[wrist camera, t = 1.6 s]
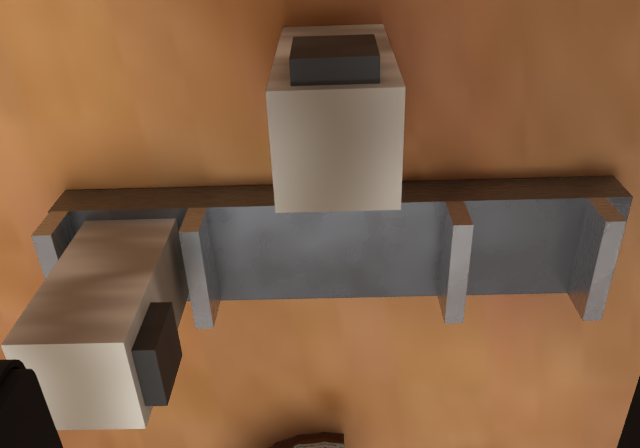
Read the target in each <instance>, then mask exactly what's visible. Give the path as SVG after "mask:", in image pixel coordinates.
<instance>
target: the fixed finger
mask: <svg viewBox="0 0 640 448" xmlns="http://www.w3.org/2000/svg"><path fill="white" fill-rule="evenodd" d="M188 295H189V289H188V283H187V277H186V272H185V266H184V260H183V255H182V249H181V243H180V238H179V232H178V226H177V220H176V218H175V219H135V220H95V221H85V222H84V223H83V225H82V226H81V227H80V229H79V230H78V232H77V233H76V235H75V236H74V238H73V239H72V241H71V242H70V244H69V245H68V247H67V248H66V250H65V251H64V253H63V254H62V256H61V257H60V259H59V260H58V261H57V263H56V264H55V266H54V267H53V269H52V270H51V272H50V273H49V275H48V276H47V278H46V279H45V281H44V282H43V284H42V285H41V287H40V288H39V290H38V291H37V293H36V294H35V295H34V297H33V298H32V300H31V301H30V303H29V304H28V306H27V307H26V309H25V310H24V312H23V313H22V315H21V316H20V318H19V319H18V321H17V322H16V324H15V325H14V327H13V328H12V329H11V331H10V332H9V334H8V335H7V337H6V338H5V340H4V341H3V343H2V344H1V347H2V349H3V352H4V354H5V357H6V360H12V359H16V360H20V361H21V362H23V364H24V366H25V367H26V369H32V370H33V371H34V372H35V374H36V376H37V379H38V381H39V384H40V387H41V389H42V392H43V395H44V397H45V400H46V403H47V406H48V408H49V411H50V414H51V416H52V419H53V422H54V424H55V427H56V430H96V429H146V426H147V423H148V420H149V417H150V414H151V410H152V407H153V406H167V405H168V402H169V399H170V395H171V392H172V388H173V385H174V382H175V378H176V375H177V371H178V368H179V365H180V361H181V358H182V351H181V346H180V341H179V335H178V330H177V329H178V326H179V323H180V320H181V317H182V314H183V310H184V307H185V304H186V301H187V298H188Z"/></svg>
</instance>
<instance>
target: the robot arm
mask: <svg viewBox="0 0 640 448" xmlns="http://www.w3.org/2000/svg"><path fill="white" fill-rule="evenodd" d="M0 448H63V446H62V443H61V441H60V438H59V435H58V433H57V430H56V427H55V424H54V422H53V419H52V416H51V414H50V411H49V408H48V406H47V403H46V400H45V397H44V395H43V392H42V389H41V387H40V384H39V381H38V379H37V376H36V374H35V372H34V371H33V370H32V369H26V367H25V366H24V364H23V362H21V361H20V360H16V359H12V360H0ZM617 448H640V377H639V380H638V383H637V386H636V390H635V393H634V396H633V399H632V402H631V405H630V408H629V412H628V415H627V418H626V421H625V424H624V427H623V430H622V434H621V437H620V440H619V443H618V446H617Z"/></svg>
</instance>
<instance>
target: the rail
mask: <svg viewBox="0 0 640 448" xmlns="http://www.w3.org/2000/svg"><path fill="white" fill-rule="evenodd" d="M632 198H633V196H632V195H631V194H630V193H629V192H628V191H627V190H626V189H625V188H624V187H623V186H622V185H621V183H620V182H619V181H618V180H617V179H616V178H615V177H614V176H594V177H556V178H518V179H479V180H441V181H403V182H402V195H401V210H374V211H334V212H294V213H275V202H274V189H273V185H250V186H212V187H174V188H136V189H98V190H65V191H64V192H63V194H62V195H61V196H60V197H59V199H58V200H57V201H56V202H55V204H54V205H53V206H52V207H51V209H50V210H49V211H48V213H49V214H48V215H47V216H46V218H45V219H44V220H43V221H42V223H41V224H40V225H39V227H38V228H37V229H36V230H35V232H34V233H33V234H32V235H31V237H32V240H33V243H34V246H35V249H36V252H37V256H38V259H39V262H40V265H41V268H42V271H43V274H44V277H45V279H46V278H47V276H48V275H49V273H50V272H51V270H52V269H53V267H54V266H55V264H56V263H57V261H58V260H59V259H60V257H61V256H62V254H63V253H64V251H65V250H66V248H67V247H68V245H69V244H70V242H71V241H72V239H73V238H74V236H75V235H76V233H77V232H78V230H79V229H80V227H81V226H82V225H83V223H84V222H85V221H95V220H135V219H175V218H176V220H177V226H178V232H179V238H180V243H181V249H182V255H183V260H184V266H185V272H186V277H187V283H188V289H189V295H188V298H187V301H191V305H192V311H193V317H194V322H195V328H196V329H197V328H214V324H215V320H216V316H217V312H218V308H219V304H220V300H261V299H308V298H354V297H401V296H438V299H439V303H440V307H441V311H442V315H443V319H444V323H463V318H464V309H465V300H466V295H493V294H540V293H567V294H568V295H569V297H570V299H571V301H572V302H573V304H574V306H575V308H576V310H577V311H578V313H579V315H580V317H581V318H582V320H583V321H588V320H601V319H602V315H603V311H604V307H605V304H606V300H607V296H608V292H609V288H610V284H611V280H612V276H613V272H614V268H615V265H616V261H617V257H618V253H619V249H620V245H621V241H622V237H623V233H624V229H625V225H626V222H627V218H628V214H629V210H630V206H631V202H632Z"/></svg>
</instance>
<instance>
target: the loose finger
mask: <svg viewBox="0 0 640 448" xmlns="http://www.w3.org/2000/svg"><path fill="white" fill-rule="evenodd" d="M405 91H406V87H405V84H404V81H403V78H402V76H401V73H400V70H399V67H398V64H397V62H396V59H395V56H394V53H393V50H392V47H391V45H390V42H389V39H388V36H387V33H386V31H385V28H384V25H383V24H362V25H332V26H301V27H283V28H282V31H281V35H280V39H279V43H278V46H277V50H276V54H275V58H274V61H273V65H272V69H271V73H270V77H269V80H268V84H267V88H266V103H267V116H268V128H269V140H270V152H271V165H272V177H273V189H274V202H275V213H294V212H334V211H374V210H401V195H402V169H403V143H404V117H405Z"/></svg>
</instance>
